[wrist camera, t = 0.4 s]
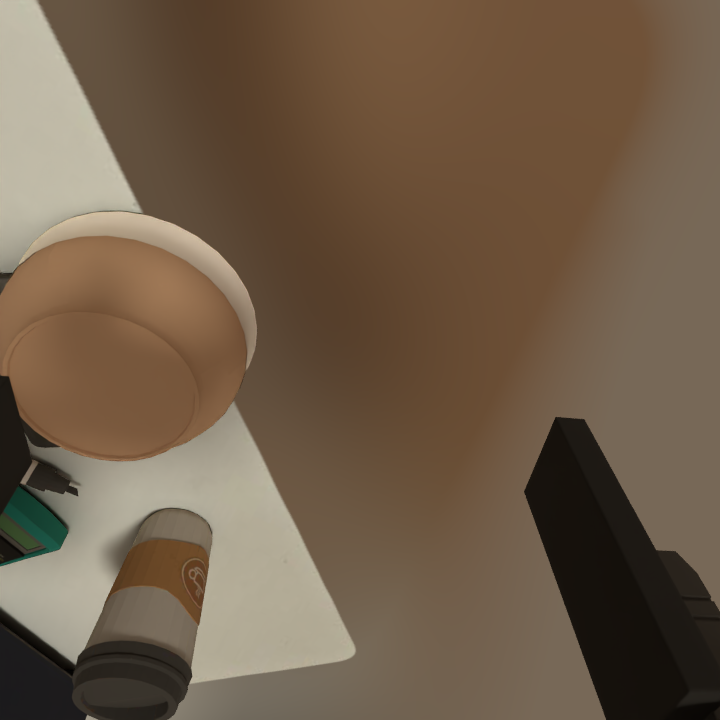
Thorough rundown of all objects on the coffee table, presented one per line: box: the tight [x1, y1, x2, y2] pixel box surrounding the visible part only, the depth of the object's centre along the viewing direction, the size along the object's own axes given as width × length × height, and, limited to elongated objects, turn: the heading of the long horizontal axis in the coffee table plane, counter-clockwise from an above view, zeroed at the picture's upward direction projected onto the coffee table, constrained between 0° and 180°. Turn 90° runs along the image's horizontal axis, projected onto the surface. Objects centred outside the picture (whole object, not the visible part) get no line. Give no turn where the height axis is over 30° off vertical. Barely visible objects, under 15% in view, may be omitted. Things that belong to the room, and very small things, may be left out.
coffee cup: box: [72, 509, 212, 720], centre depth 47 cm, size 8×8×15 cm
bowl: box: [0, 211, 257, 461], centre depth 36 cm, size 16×16×8 cm
